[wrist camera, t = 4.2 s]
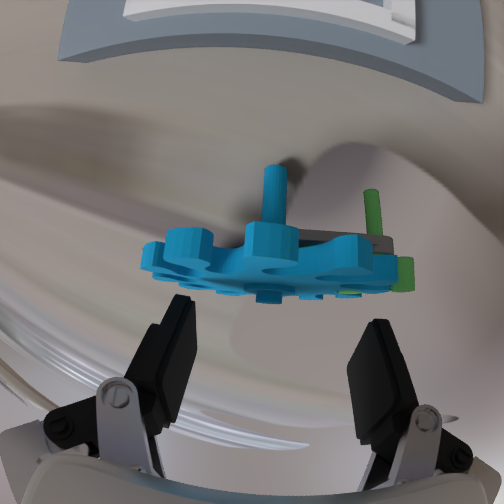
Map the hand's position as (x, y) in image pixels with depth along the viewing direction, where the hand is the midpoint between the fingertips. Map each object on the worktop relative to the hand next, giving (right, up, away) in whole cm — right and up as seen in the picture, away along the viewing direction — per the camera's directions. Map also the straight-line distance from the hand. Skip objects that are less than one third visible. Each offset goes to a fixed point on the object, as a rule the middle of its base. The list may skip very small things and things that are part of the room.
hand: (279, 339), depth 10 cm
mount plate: (0, +20, -5) cm, 21 cm away
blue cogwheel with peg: (+1, +3, +6) cm, 7 cm away
